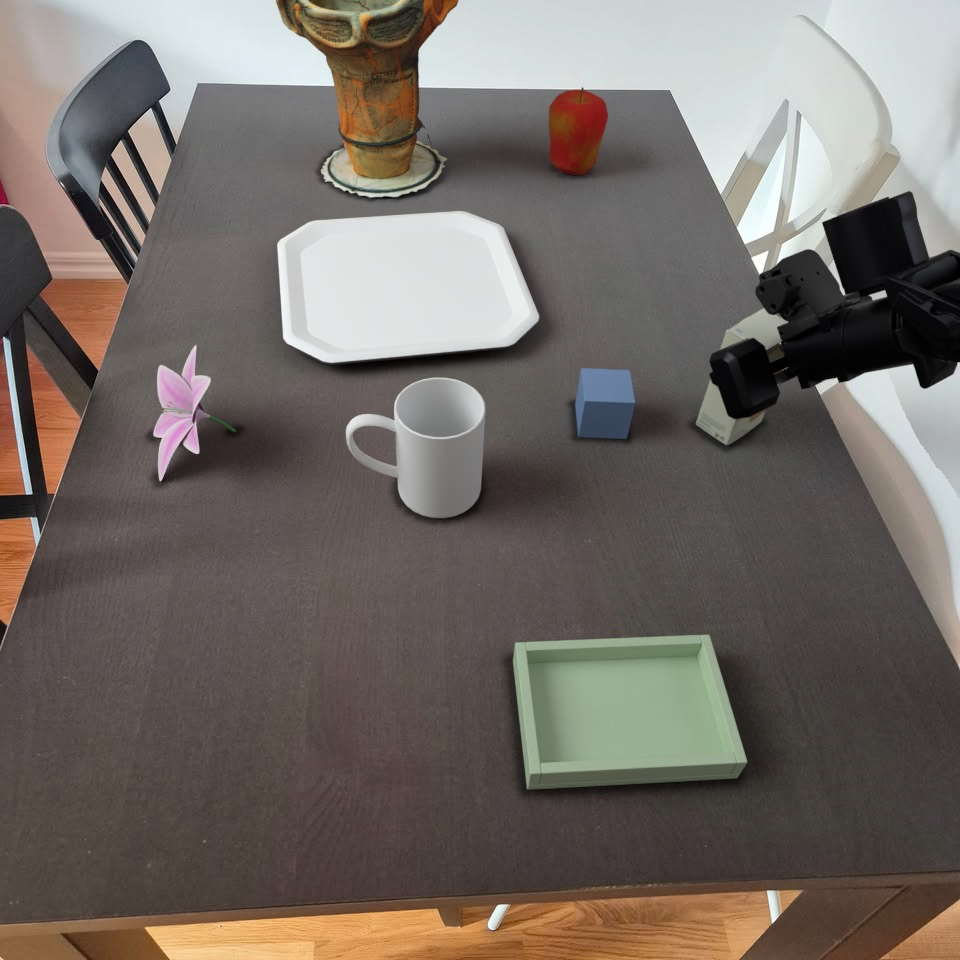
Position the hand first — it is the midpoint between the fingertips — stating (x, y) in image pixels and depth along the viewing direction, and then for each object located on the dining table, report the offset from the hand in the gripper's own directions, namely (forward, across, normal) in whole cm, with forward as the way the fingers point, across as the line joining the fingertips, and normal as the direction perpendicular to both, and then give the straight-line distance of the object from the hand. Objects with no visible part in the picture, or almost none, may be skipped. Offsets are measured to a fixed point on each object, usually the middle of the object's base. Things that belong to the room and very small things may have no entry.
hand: (736, 367), depth 83 cm
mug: (+10, +33, 0) cm, 34 cm away
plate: (+30, +18, -21) cm, 41 cm away
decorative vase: (+51, +6, -41) cm, 66 cm away
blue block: (+9, +12, +1) cm, 14 cm away
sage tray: (-10, +31, +20) cm, 38 cm away
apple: (+41, -20, -31) cm, 55 cm away
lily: (+22, +48, -12) cm, 55 cm away
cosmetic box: (+4, 0, +6) cm, 7 cm away
